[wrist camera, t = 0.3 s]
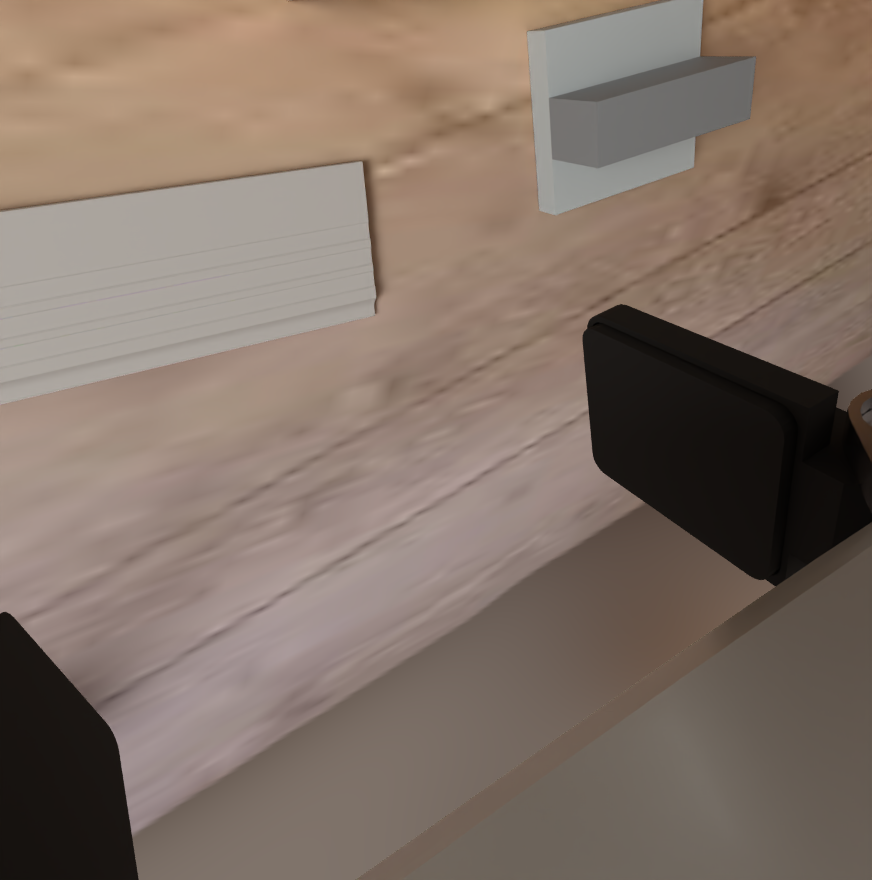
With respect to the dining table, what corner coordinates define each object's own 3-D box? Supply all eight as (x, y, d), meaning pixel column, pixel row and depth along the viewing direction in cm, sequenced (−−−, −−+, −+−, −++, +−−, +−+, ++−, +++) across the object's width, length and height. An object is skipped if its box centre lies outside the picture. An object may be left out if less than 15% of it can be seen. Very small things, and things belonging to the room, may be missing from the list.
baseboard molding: (371, 330, 50) (352, 158, 44) (388, 343, 48) (371, 163, 42) (-128, 453, 38) (-249, 240, 32) (-136, 477, 36) (-268, 254, 30)
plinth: (527, 31, 45) (595, 28, 40) (682, -5, 50) (762, -12, 45) (539, 210, 52) (599, 228, 47) (675, 164, 57) (744, 175, 51)
